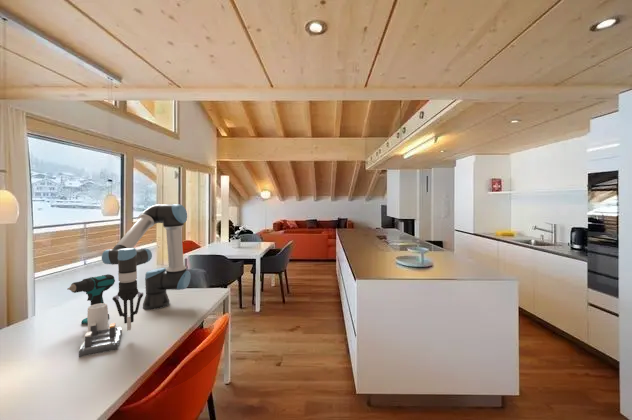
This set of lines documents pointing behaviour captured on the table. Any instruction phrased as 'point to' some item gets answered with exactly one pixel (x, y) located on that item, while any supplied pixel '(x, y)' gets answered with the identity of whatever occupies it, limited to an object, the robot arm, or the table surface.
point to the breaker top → (88, 339)
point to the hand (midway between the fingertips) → (129, 329)
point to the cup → (98, 316)
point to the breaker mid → (112, 329)
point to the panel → (102, 342)
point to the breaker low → (94, 328)
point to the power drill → (93, 288)
